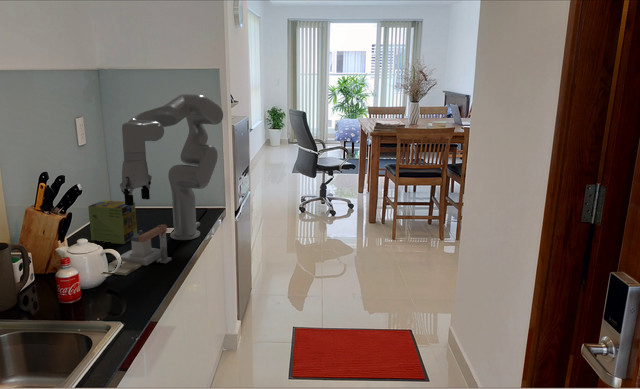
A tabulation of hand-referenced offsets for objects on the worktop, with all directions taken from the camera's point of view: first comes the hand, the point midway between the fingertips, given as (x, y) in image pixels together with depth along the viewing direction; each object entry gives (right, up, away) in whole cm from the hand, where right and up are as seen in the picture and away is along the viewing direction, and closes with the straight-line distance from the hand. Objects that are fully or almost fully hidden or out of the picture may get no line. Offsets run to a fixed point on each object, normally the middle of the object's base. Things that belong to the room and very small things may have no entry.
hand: (137, 202), depth 177 cm
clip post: (+9, -22, +3) cm, 24 cm away
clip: (+8, -12, -5) cm, 15 cm away
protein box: (-20, -16, +26) cm, 36 cm away
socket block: (0, -22, +6) cm, 22 cm away
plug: (0, -22, +6) cm, 22 cm away
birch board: (-4, -24, -5) cm, 25 cm away
